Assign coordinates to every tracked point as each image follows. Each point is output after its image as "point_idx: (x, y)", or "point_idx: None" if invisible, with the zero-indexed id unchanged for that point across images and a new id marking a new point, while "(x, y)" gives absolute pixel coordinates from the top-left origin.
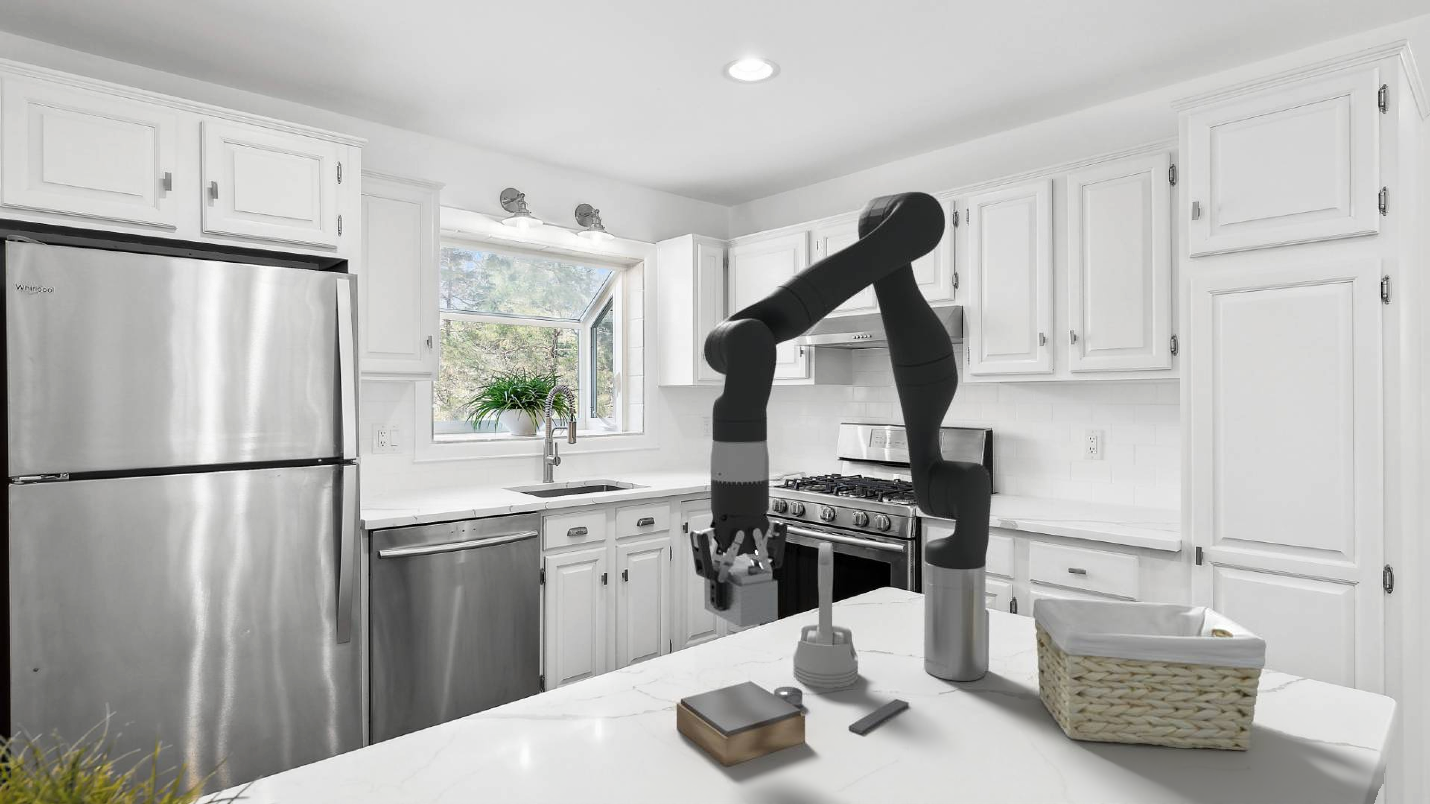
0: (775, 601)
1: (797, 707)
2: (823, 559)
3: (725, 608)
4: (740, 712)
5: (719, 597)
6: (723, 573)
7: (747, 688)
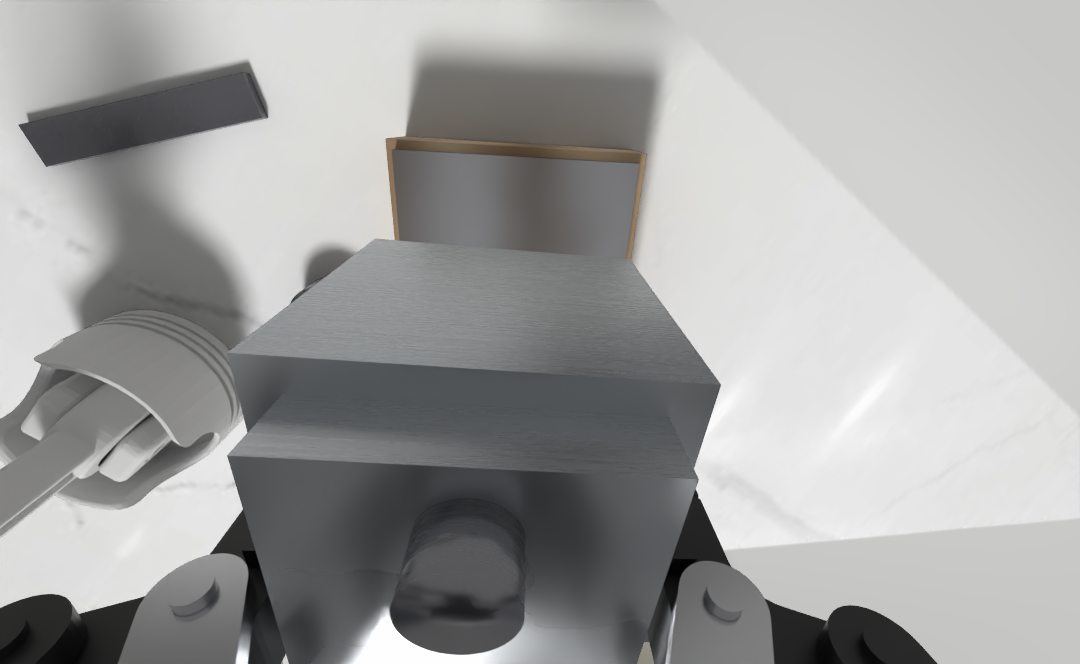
0: (347, 278)
1: None
2: None
3: None
4: (540, 236)
5: None
6: (722, 642)
7: None
